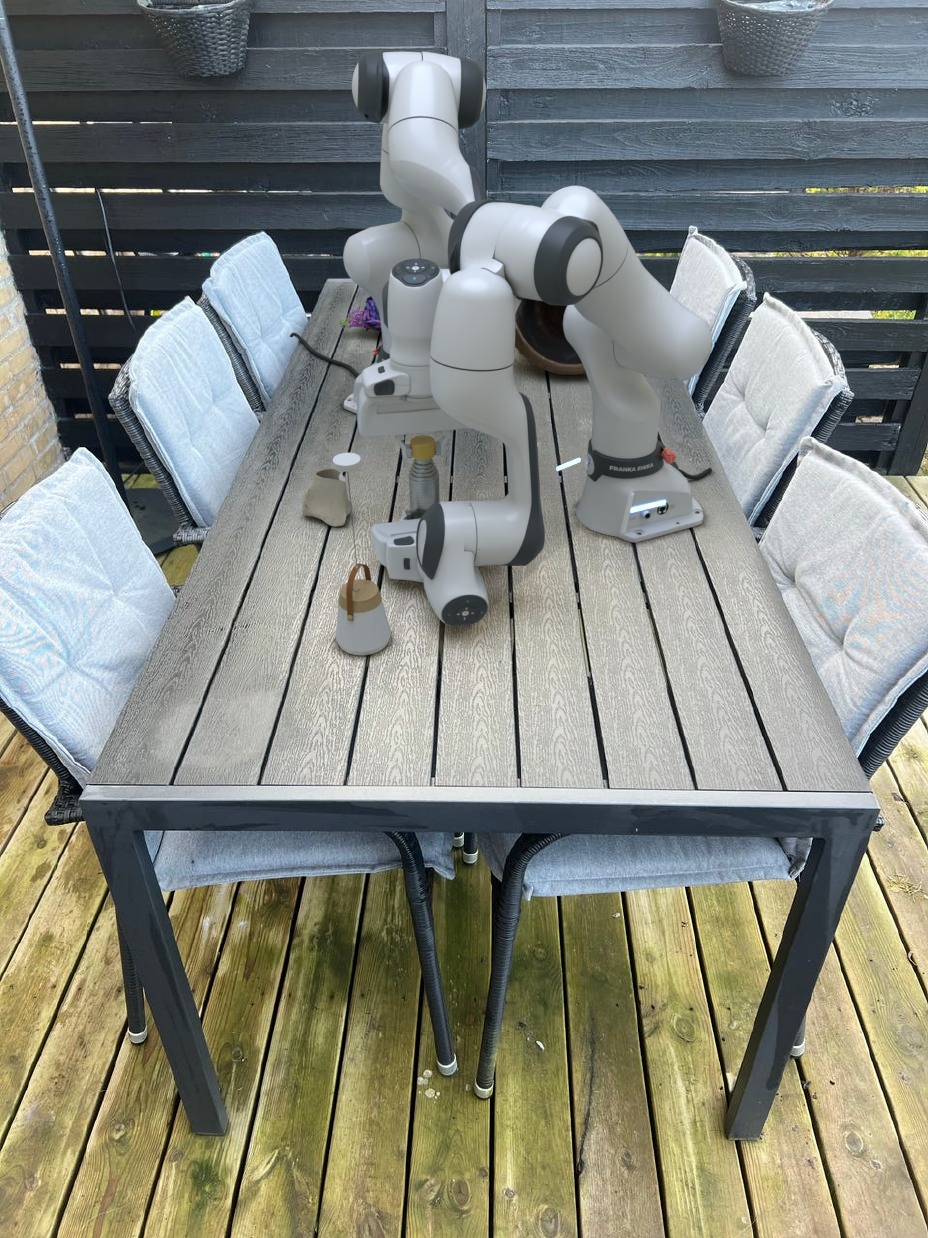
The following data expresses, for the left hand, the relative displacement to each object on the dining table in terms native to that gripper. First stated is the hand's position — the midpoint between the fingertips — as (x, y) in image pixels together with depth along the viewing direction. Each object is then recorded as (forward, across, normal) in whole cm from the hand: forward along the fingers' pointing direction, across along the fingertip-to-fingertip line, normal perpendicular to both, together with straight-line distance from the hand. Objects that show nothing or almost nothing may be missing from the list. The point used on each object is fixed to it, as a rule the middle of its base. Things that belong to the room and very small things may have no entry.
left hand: (422, 455), depth 150 cm
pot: (+17, -47, -75) cm, 90 cm away
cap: (-2, 0, 0) cm, 2 cm away
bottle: (+17, 0, 0) cm, 17 cm away
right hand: (+11, 0, -1) cm, 11 cm away
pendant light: (+17, +13, +25) cm, 33 cm away
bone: (+17, +16, -11) cm, 26 cm away
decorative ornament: (+17, -8, -99) cm, 101 cm away
